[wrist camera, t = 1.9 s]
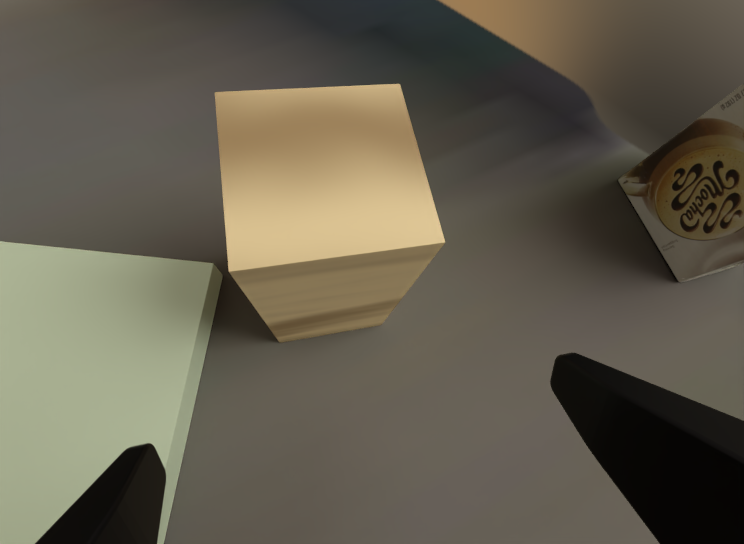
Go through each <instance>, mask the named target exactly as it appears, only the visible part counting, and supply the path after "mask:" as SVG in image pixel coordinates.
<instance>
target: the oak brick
mask: <svg viewBox="0 0 744 544" xmlns="http://www.w3.org/2000/svg"><path fill="white" fill-rule="evenodd" d="M215 100H216V113H217V126H218V139H219V152H220V165H221V178H222V191H223V204H224V217H225V230H226V243H227V256H228V269H229V273H230V274H231V276H232V277H233V278H234V280H235V281H236V283H237V284H238V285H239V287H240V288H241V290H242V291H243V292H244V294H245V295H246V296H247V298H248V299H249V301H250V302H251V303H252V305H253V306H254V308H255V309H256V310H257V312H258V313H259V315H260V316H261V317H262V319H263V320H264V322H265V323H266V324H267V326H268V327H269V328H270V330H271V331H272V333H273V334H274V335H275V337H276V338H277V340H278V341H279V342H280V343H282V342H287V341H293V340H299V339H304V338H310V337H316V336H322V335H327V334H333V333H339V332H344V331H350V330H356V329H361V328H367V327H373V326H378V325H382V323H383V322H384V321H385V319H386V318H387V317H388V316H389V314H390V313H391V312H392V310H393V309H394V308H395V307H396V305H397V304H398V303H399V301H400V300H401V299H402V298H403V296H404V295H405V294H406V292H407V291H408V290H409V289H410V287H411V286H412V285H413V283H414V282H415V281H416V280H417V278H418V277H419V276H420V274H421V273H422V272H423V270H424V269H425V268H426V267H427V265H428V264H429V263H430V261H431V260H432V259H433V258H434V256H435V255H436V254H437V252H438V251H439V250H440V249H441V247H442V246H443V245H444V243H445V240H444V236H443V233H442V229H441V226H440V222H439V219H438V215H437V212H436V208H435V205H434V201H433V198H432V194H431V191H430V187H429V184H428V180H427V177H426V173H425V170H424V167H423V163H422V160H421V156H420V153H419V149H418V146H417V142H416V139H415V135H414V132H413V128H412V125H411V121H410V118H409V114H408V111H407V107H406V104H405V100H404V97H403V93H402V90H401V87H400V84H385V85H363V86H341V87H319V88H297V89H275V90H252V91H230V92H215Z"/></svg>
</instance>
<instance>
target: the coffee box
mask: <svg viewBox="0 0 744 544" xmlns="http://www.w3.org/2000/svg"><path fill="white" fill-rule="evenodd" d="M618 181H619V183H620V185H621V187H622V188H623V190H624V191H625V193H626V195H627V196H628V198H629V200H630V201H631V203H632V205H633V206H634V208H635V210H636V212H637V213H638V215H639V217H640V218H641V220H642V222H643V223H644V225H645V227H646V228H647V230H648V232H649V233H650V235H651V237H652V238H653V240H654V242H655V243H656V245H657V247H658V248H659V250H660V252H661V253H662V255H663V257H664V258H665V260H666V262H667V263H668V265H669V267H670V268H671V270H672V272H673V273H674V275H675V277H676V278H677V280H678V282H685V281H689V280H692V279H696V278H699V277H702V276H706V275H709V274H713V273H716V272H719V271H723V270H726V269H729V268H732V267H735V266H738V265H740V264H743V263H744V84H742V85H741V86H740V87H738V88H737V89H736V90H735V91H733V92H732V93H731V94H729V95H728V96H727V97H725V98H724V99H723V100H722V101H720V102H719V103H718V104H717V105H715V106H714V107H712V108H711V109H710V110H709V111H707V112H706V113H705V114H703V115H702V116H701V117H699V118H698V119H697V120H696V121H694V122H693V123H692V124H690V125H689V126H688V127H686V128H685V129H684V130H682V131H681V132H680V133H678V134H677V135H676V136H674V137H673V138H672V139H670V140H669V141H668V142H666V143H665V144H664V145H663V146H661V147H660V148H659V149H657V150H656V151H655V152H653V153H652V154H651V155H650V156H648V157H647V158H646V159H644V160H643V161H642V162H640V163H639V164H638V165H636V166H635V167H634V168H633V169H631V170H630V171H628V172H627V173H626V174H624V175H623V176H621V177H620V178H619V179H618Z"/></svg>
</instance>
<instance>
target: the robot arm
mask: <svg viewBox="0 0 744 544" xmlns="http://www.w3.org/2000/svg"><path fill="white" fill-rule="evenodd" d="M550 383H551V388H552V390H553V392H554V394H555V395H556V397H557V399H558V400H559V402H560V403H561V405H562V407H563V408H564V410H565V412H566V413H567V415H568V416H569V418H570V420H571V421H572V423H573V424H574V426H575V428H576V429H577V431H578V432H579V434H580V436H581V437H582V439H583V440H584V442H585V443H586V445H587V446H588V448H589V450H590V451H591V452H592V454H593V455H594V456H595V458H596V459H597V461H598V462H599V463H600V465H601V466H602V467H603V469H604V470H605V471H606V473H607V474H608V475H609V477H610V478H611V479H612V481H613V482H614V483H615V485H616V486H617V487H618V489H619V490H620V491H621V493H622V494H623V495H624V497H625V498H626V499H627V501H628V502H629V503H630V505H631V506H632V507H633V509H634V510H635V511H636V513H637V514H638V515H639V517H640V518H641V519H642V521H643V522H644V523H645V525H646V526H647V527H648V529H649V530H650V531H651V533H652V534H653V535H654V537H655V538H656V539H657V541H658V542H659V543H660V544H744V421H743V420H740V419H738V418H735V417H733V416H730V415H728V414H725V413H723V412H720V411H718V410H715V409H713V408H710V407H708V406H706V405H703V404H701V403H698V402H696V401H693V400H691V399H688V398H686V397H683V396H681V395H678V394H676V393H673V392H671V391H668V390H666V389H663V388H661V387H659V386H656V385H654V384H651V383H649V382H646V381H644V380H641V379H639V378H636V377H634V376H631V375H629V374H626V373H624V372H621V371H619V370H616V369H614V368H612V367H609V366H607V365H604V364H602V363H599V362H597V361H594V360H592V359H589V358H587V357H584V356H582V355H579V354H577V353H567V354H563V355H559V356H557V358H556V359H555V363H554V367H553V371H552V376H551V381H550ZM165 485H166V471H165V468H164V466H163V464H162V461H161V459H160V457H159V455H158V453H157V451H156V448H155V447H154V445H153V444H151V443H146V444H141V445H136V446H132V447H129V448H127V449H126V450H124V451H123V452H122V453H121V454H120V455H119V456H118V457H117V459H116V460H115V461H114V462H113V463H112V464H111V465H110V466H109V467H108V468H107V469H106V470H105V471H104V472H103V473H102V474H101V475H100V476H99V477H98V478H97V479H96V480H95V481H94V482H93V483H92V485H91V486H90V487H89V488H88V489H87V490H86V491H85V492H84V493H83V494H82V495H81V496H80V497H79V498H78V499H77V500H76V501H75V502H74V503H73V504H72V505H71V506H70V507H69V508H68V510H67V511H66V512H65V513H64V514H63V515H62V516H61V517H60V518H59V519H58V520H57V521H56V522H55V523H54V524H53V525H52V526H51V527H50V528H49V529H48V530H47V531H46V532H45V533H44V535H43V536H42V537H41V538H40V539H39V540H38V541H37V542H36V543H35V544H157V541H158V534H159V527H160V520H161V513H162V506H163V499H164V492H165Z"/></svg>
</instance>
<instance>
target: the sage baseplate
mask: <svg viewBox="0 0 744 544" xmlns="http://www.w3.org/2000/svg"><path fill="white" fill-rule="evenodd" d="M222 278H223V275H222V273H221V272H220V271H219V270H218V268H217V267H216V266H215V265H214V263H206V262H196V261H186V260H177V259H167V258H157V257H147V256H137V255H128V254H118V253H108V252H98V251H88V250H79V249H69V248H59V247H49V246H39V245H30V244H20V243H10V242H0V544H35V543H36V542H37V541H38V540H39V539H40V538H41V537H42V536H43V535H44V533H45V532H46V531H47V530H48V529H49V528H50V527H51V526H52V525H53V524H54V523H55V522H56V521H57V520H58V519H59V518H60V517H61V516H62V515H63V514H64V513H65V512H66V511H67V510H68V508H69V507H70V506H71V505H72V504H73V503H74V502H75V501H76V500H77V499H78V498H79V497H80V496H81V495H82V494H83V493H84V492H85V491H86V490H87V489H88V488H89V487H90V486H91V485H92V483H93V482H94V481H95V480H96V479H97V478H98V477H99V476H100V475H101V474H102V473H103V472H104V471H105V470H106V469H107V468H108V467H109V466H110V465H111V464H112V463H113V462H114V461H115V460H116V459H117V457H118V456H119V455H120V454H121V453H122V452H123V451H124V450H126V449H127V448H129V447H132V446H136V445H141V444H146V443H151V444H153V445H154V447H155V448H156V451H157V453H158V455H159V457H160V459H161V461H162V464H163V466H164V468H165V471H166V485H165V492H164V499H163V506H162V513H161V520H160V527H159V534H158V541H157V544H164V540H165V536H166V531H167V527H168V522H169V518H170V513H171V509H172V504H173V500H174V495H175V491H176V486H177V481H178V477H179V472H180V468H181V463H182V459H183V454H184V450H185V445H186V441H187V436H188V432H189V427H190V423H191V418H192V414H193V409H194V404H195V400H196V395H197V391H198V386H199V382H200V377H201V373H202V368H203V364H204V359H205V355H206V350H207V346H208V341H209V337H210V332H211V328H212V323H213V318H214V314H215V309H216V305H217V300H218V296H219V291H220V287H221V282H222Z"/></svg>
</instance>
